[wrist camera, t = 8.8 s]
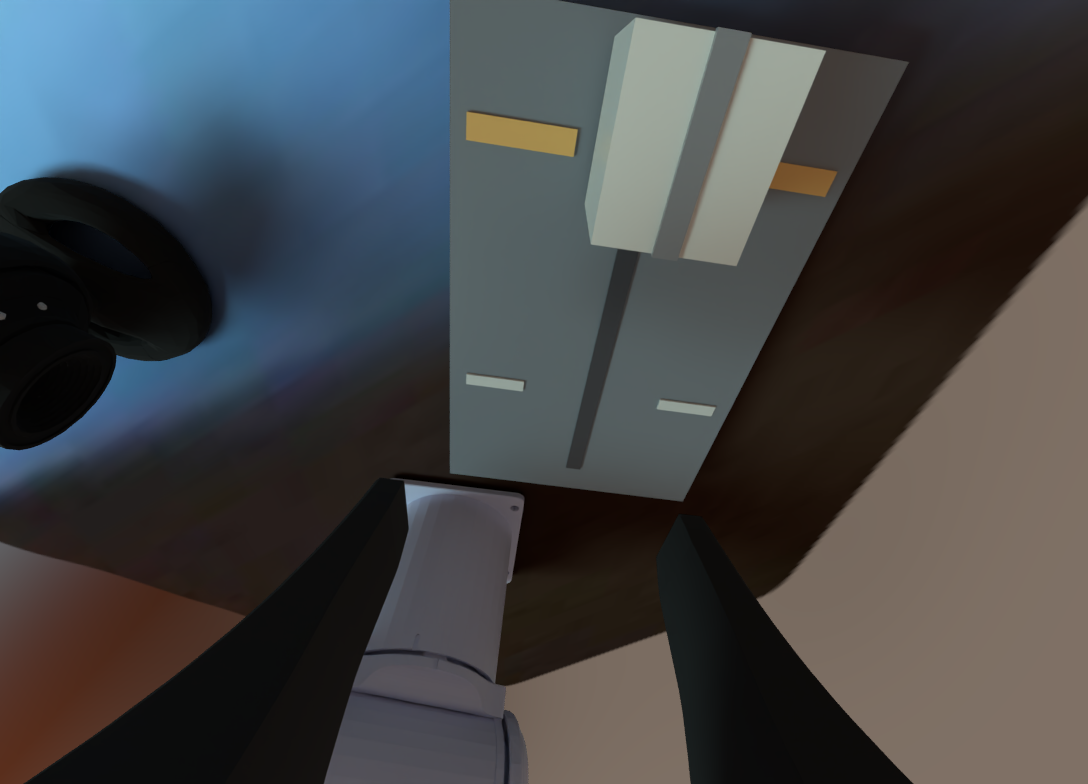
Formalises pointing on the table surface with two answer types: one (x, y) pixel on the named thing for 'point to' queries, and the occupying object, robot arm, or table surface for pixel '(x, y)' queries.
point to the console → (607, 261)
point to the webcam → (83, 305)
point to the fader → (691, 138)
